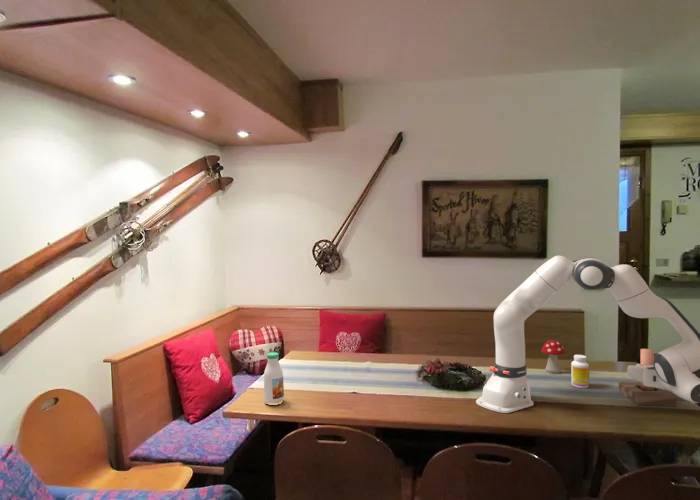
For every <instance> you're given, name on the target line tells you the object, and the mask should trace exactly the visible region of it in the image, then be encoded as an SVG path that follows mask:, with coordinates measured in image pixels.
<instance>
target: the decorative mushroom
mask: <svg viewBox="0 0 700 500" xmlns="http://www.w3.org/2000/svg"><path fill="white" fill-rule="evenodd" d="M565 352H566V351H565V348H564V346H563V345H562V343H561V342H559V341H558V340H555V339H554V340H553V339H551V340H547V341H546V342H545V343H543V346H542V347H541V353H543V354H545V355H548V358H547V363H546V367H545V368H544V369H545V372H546V373H547V374H551V375H558V374H561V372H562V369H561V366H560V362H559V357H558V356H561V355H564V354H566V353H565Z"/></svg>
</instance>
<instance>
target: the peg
mask: <svg viewBox="0 0 700 500" xmlns="http://www.w3.org/2000/svg"><path fill="white" fill-rule="evenodd" d="M639 356H640V360H639V361H640V363H639V364H642V365H653V363H654V356H655V350H654V349H652V348H651V349H650V348H640V355H639ZM640 389H641V390H642V391H654V387H648V386H644V385H643V382H640Z"/></svg>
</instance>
